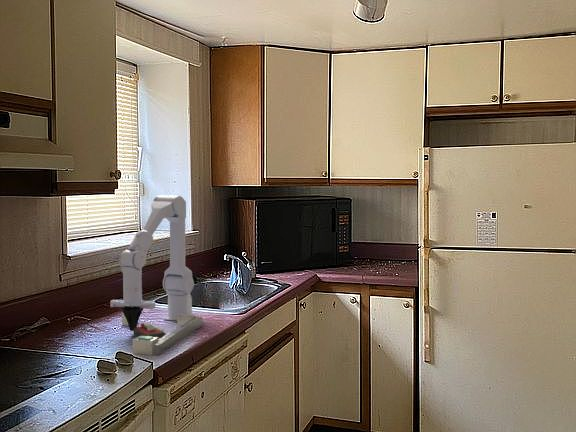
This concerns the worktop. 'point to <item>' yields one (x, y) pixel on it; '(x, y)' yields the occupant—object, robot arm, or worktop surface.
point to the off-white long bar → (167, 336)
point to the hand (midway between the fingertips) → (133, 330)
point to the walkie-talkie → (149, 331)
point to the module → (124, 321)
